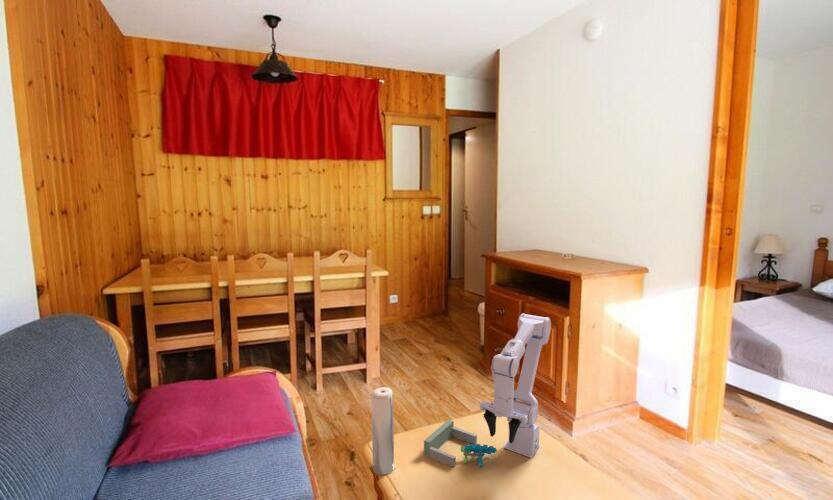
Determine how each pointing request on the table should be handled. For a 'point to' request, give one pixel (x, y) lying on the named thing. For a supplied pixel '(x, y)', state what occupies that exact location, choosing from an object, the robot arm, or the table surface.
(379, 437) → the white cylindrical tube
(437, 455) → the green u-shaped bracket
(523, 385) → the robot arm
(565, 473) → the table surface
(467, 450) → the blue toy cog wheel
